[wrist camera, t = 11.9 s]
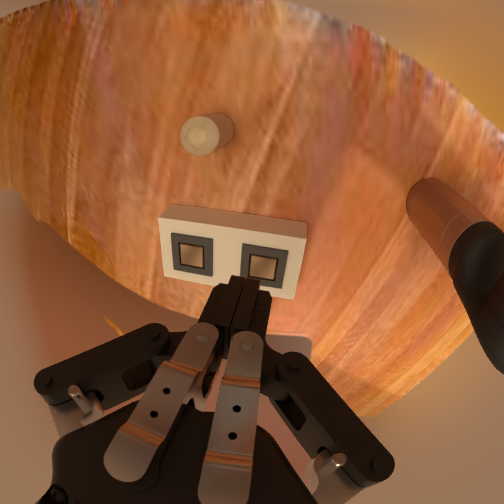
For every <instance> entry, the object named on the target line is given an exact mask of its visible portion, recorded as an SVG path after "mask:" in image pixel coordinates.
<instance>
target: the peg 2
mask: <svg viewBox="0 0 504 504" xmlns="http://www.w3.org/2000/svg"><path fill="white" fill-rule="evenodd" d="M276 263H277V258H275V257H268V256H262V255H256V254H252V255H251V265H250V276H255V277H261V278H267V279H273V280H274V274H275V269H276Z"/></svg>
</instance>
